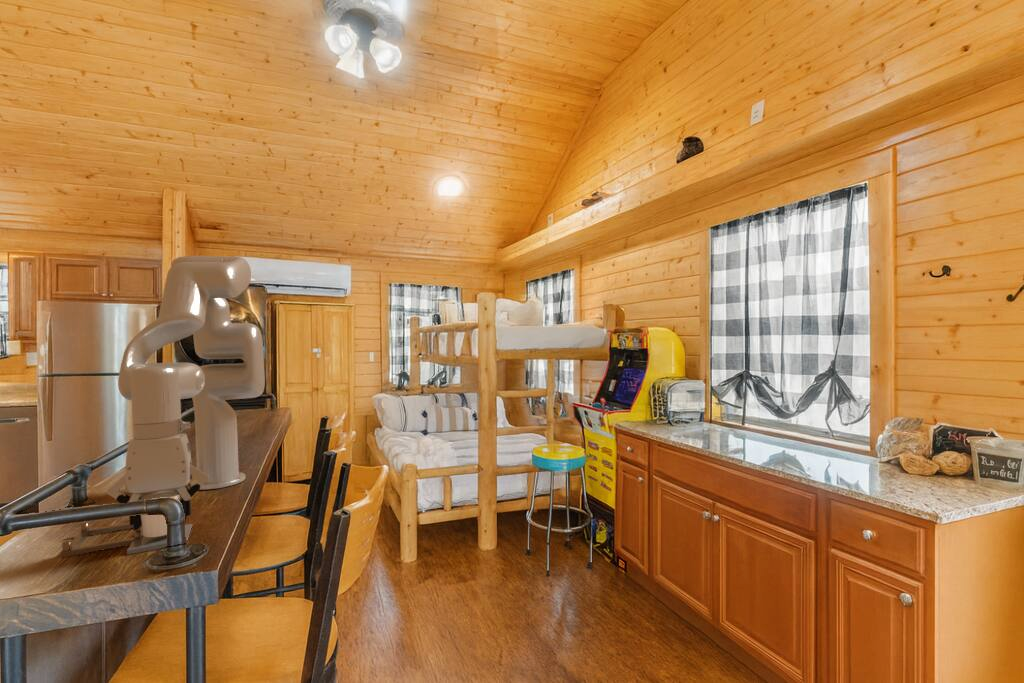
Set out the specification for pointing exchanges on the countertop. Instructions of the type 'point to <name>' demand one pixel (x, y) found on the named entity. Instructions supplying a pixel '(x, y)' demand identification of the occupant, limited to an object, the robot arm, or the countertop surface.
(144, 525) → the shot glass
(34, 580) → the countertop surface
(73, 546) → the brown square frame
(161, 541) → the coaster
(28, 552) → the countertop surface
